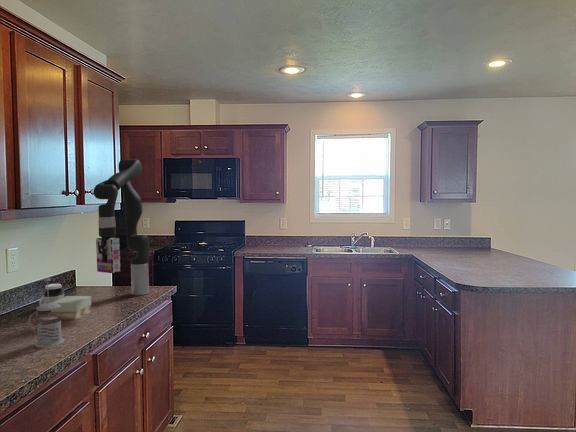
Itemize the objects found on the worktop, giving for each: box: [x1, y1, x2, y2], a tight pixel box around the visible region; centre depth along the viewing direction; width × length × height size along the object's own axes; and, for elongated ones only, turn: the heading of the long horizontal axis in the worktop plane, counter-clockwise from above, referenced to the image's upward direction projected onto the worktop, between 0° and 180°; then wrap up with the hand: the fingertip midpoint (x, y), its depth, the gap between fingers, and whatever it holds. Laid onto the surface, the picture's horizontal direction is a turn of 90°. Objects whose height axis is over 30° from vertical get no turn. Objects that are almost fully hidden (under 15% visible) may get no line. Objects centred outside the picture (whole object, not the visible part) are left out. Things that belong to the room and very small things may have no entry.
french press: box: [27, 277, 66, 348], centre depth 151 cm, size 10×12×25 cm
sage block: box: [50, 295, 92, 312], centre depth 186 cm, size 12×12×4 cm
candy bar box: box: [95, 237, 122, 274], centre depth 192 cm, size 11×5×16 cm, turn 63°
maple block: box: [49, 304, 92, 321], centre depth 186 cm, size 12×12×4 cm
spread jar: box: [38, 283, 65, 306], centre depth 199 cm, size 12×11×12 cm
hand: (108, 260), depth 192 cm, fingers closed on candy bar box, 6 cm apart
